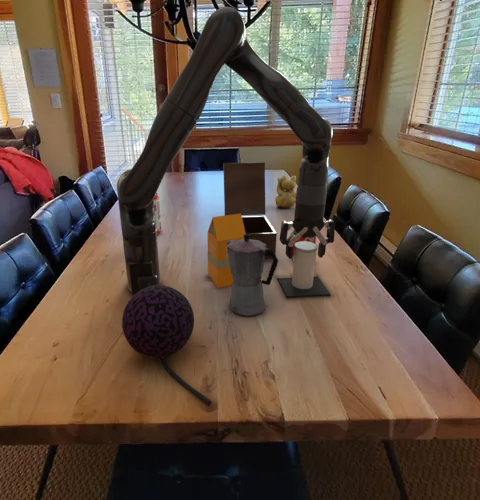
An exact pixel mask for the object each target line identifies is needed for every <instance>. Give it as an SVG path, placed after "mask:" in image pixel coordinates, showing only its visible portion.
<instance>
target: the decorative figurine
mask: <svg viewBox="0 0 480 500" xmlns="http://www.w3.org/2000/svg"><path fill="white" fill-rule="evenodd" d="M296 181H297V176H296V175H292V176H291V177H290V178H288V176H287V175H286V174H283V175H282V176H281V177H278V178H277V185H276V192H277V195H276V196H275V199H274V201H275V205H276V206H278V209H285V210H286V209H287V210H289V209H290V207H295V202H296V199H295V197H296V191H295V188H296V185H297V183H296Z"/></svg>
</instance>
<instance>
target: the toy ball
mask: <svg viewBox="0 0 480 500" xmlns="http://www.w3.org/2000/svg"><path fill="white" fill-rule="evenodd" d="M194 326H195V314H194V309H193V307H192V305H191V303H190V301H189V300H188V298H187V297H186V296H185V295H184V294H183V293H182V292H180V291H179V290H177V289H176V288H173V287H171V286H169V285H162V284H161V285H154V286H149V287H146V288H144V289H142V290H140V291H139V292H137V293H136V294H133V295H132V297H131V298H130V299H129V300H128V301H127V303H126V305H125V307H124V310H123V313H122V317H121V327H122V332H123V335H124V338H125V340H126V342H127V343H128V344H129V345H130V347H131V348H132V349H133V351H135V352H136V353H138V354H140V355H142V356H144V357H148V358H152V359H159V358H163V359H164V358H167V357H171V356H173V355H175V354H177V353H179V351H181V350H182V349H184V347H185V346H186V345H187V344H188V342H189V341H190V339H191V337H192V334H193V331H194V328H195V327H194Z"/></svg>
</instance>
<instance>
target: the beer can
mask: <svg viewBox="0 0 480 500" xmlns="http://www.w3.org/2000/svg"><path fill="white" fill-rule="evenodd" d="M160 202H161V201H160V197H159V194H158V192H156V195H155V197H154V199H153V204H154V213H155V219H156V231H157V236H159V235H160V234H161V233H162V230H163V229H162V216H161V215H162V213H161V203H160Z"/></svg>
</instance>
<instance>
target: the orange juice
mask: <svg viewBox="0 0 480 500" xmlns="http://www.w3.org/2000/svg"><path fill="white" fill-rule="evenodd" d="M242 217H243V215H241V213H240V214H233V215H225V214H224V215H218V216H212V218H211V221H210V223H209V226H208V229H207V276H209V278H210V279H211V280H212V281H211V282H212V283H213V285H215V287H216V288H217V289H220V288H224V287H225V288H226V287H229V286H232V284H233V275H232V274H231V270H230V263H229V257H228V251H227V246H228V245H227V243H226V242H228V241H231V240H241V239H244V236H243V235H245V234H246V233H245V229H244V224H243V220H242Z"/></svg>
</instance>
